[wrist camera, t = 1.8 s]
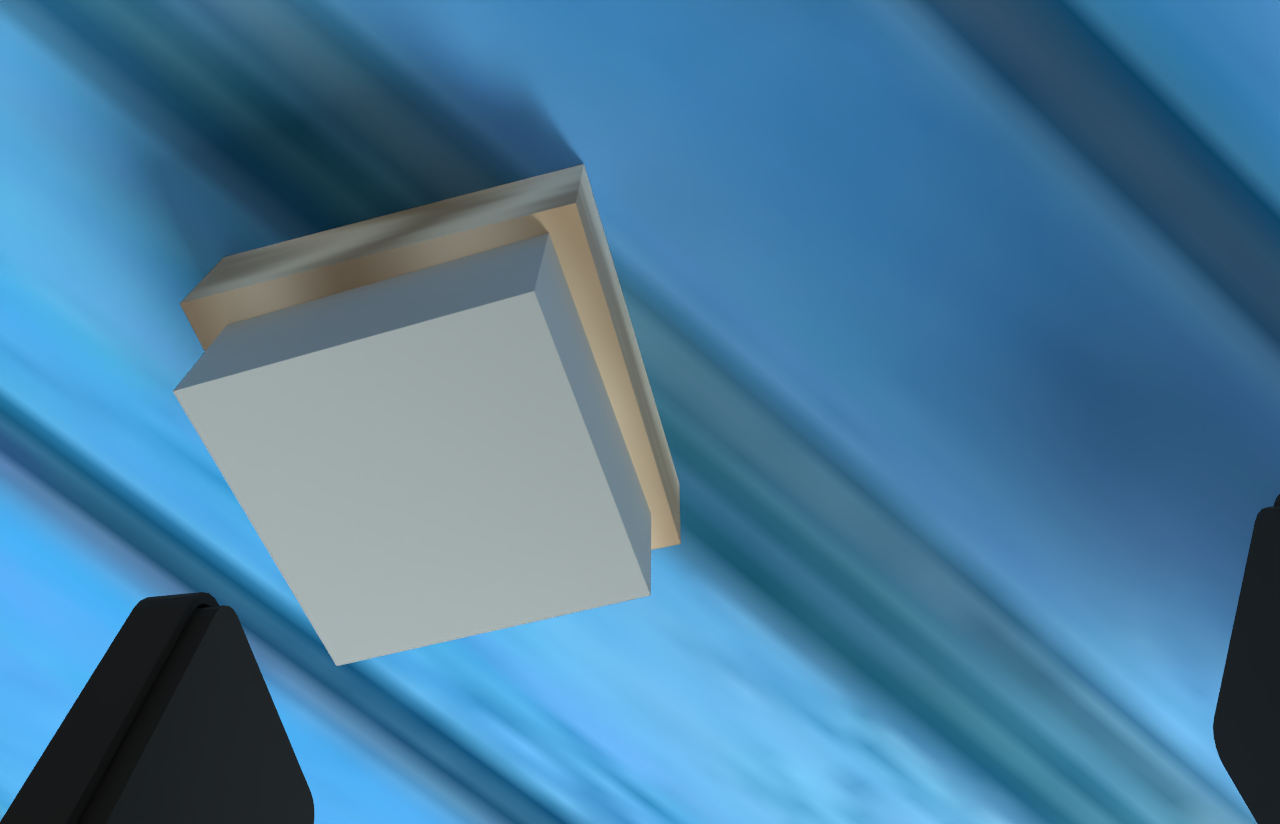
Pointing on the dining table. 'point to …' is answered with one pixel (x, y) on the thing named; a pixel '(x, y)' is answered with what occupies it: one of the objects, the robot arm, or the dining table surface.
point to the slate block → (428, 453)
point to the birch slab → (449, 235)
